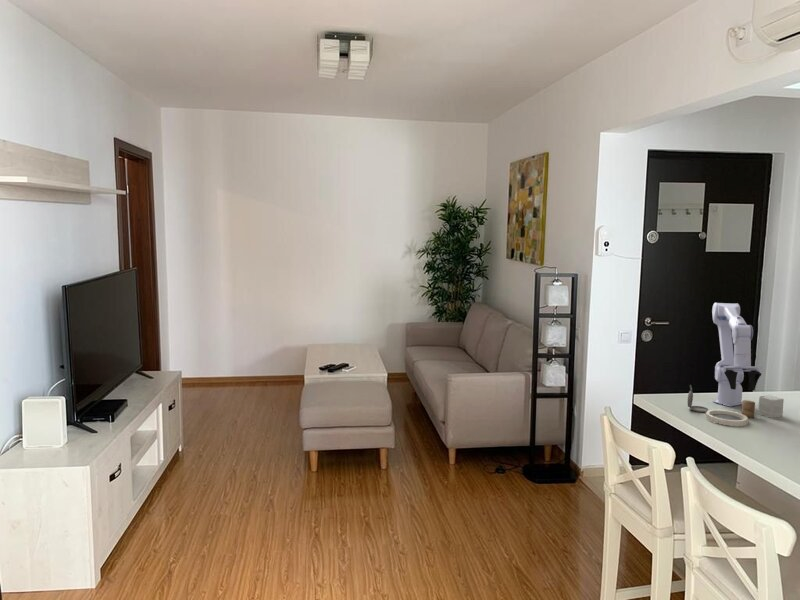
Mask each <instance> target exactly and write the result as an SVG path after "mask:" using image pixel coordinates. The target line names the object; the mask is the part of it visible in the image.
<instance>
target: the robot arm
mask: <svg viewBox="0 0 800 600" xmlns="http://www.w3.org/2000/svg"><path fill="white" fill-rule="evenodd" d="M711 313H712V314H711V315H712V321H713V324H715V325H716V326H717V329H718V337H719V347H720V355H721V356H720V358H721V360H720V361H718V362H716V364H715V366H714V379H715V380H716V382H718V386H717V387H718V389H717V398H716V399H715V400H712V402H713V403H716V404H719V405H722V404H723V405H724V406H727V407H734V406H738V405H739V406H740V405H742V401H743V400H742V399H743V387H742V382H743V381H744V377H745V375H744V374H745V373H744V372H747V375H748V383H749V384H748V385H749V390H750V391H755V390H756V386H757V383H758V381H759V379H760V377H761V376H762V372H764V371H763V366H758V365H757V366H754V365H753V366H752V359H751V357H752V353H751V351H752V349H751V346H752V345H751V344H752V343H751V341H752V340H753V336H754V329H753V328H754V327H753V326H752V325H751V324H747V322H746V321H745V319H744V318H743V317H742V316H741V306H740V304H739V303H738V302H737V303H729V302H728V303H726V302H725V303H724V302H714V303H713V305H712V309H711Z"/></svg>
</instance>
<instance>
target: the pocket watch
mask: <svg viewBox="0 0 800 600" xmlns="http://www.w3.org/2000/svg"><path fill="white" fill-rule="evenodd" d="M689 389H690V390H689V391H688V395H687V407H689V409H690V410H691V411H693V412H697V413H706V412H707V411H709V408H707V407H705V406H701V405H693V400H694V393H693V388H692V385H691V384H689Z"/></svg>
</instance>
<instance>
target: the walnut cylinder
mask: <svg viewBox="0 0 800 600" xmlns="http://www.w3.org/2000/svg"><path fill="white" fill-rule="evenodd" d="M741 402H742V404H741V412H740V414H743V415H745V416H747V418H748V419H755V410H756V408H755V407H756V402H755V401H752V400H747V399H744V400H742V401H741Z"/></svg>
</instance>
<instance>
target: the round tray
mask: <svg viewBox="0 0 800 600" xmlns="http://www.w3.org/2000/svg"><path fill="white" fill-rule="evenodd" d="M705 418H707V419H706V420H707V421H709V420H710V421H709V422H711V421H712V422H711V423H714V422H715V423H714V424H717V423H719V424H718V425H721V424H723V425H722V426H726V425H730V426H729V427H744V426H747V425H748V423H749V418H747V416H745V415H743V414H741V412H736V411H732V410H726V409H725V410H724V409H710V410H709V409H708V411H707V412H705ZM743 425H744V426H743Z"/></svg>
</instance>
